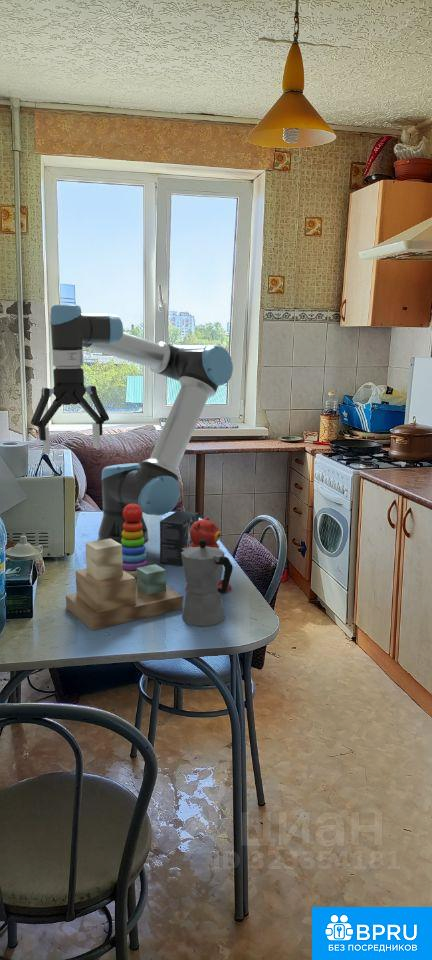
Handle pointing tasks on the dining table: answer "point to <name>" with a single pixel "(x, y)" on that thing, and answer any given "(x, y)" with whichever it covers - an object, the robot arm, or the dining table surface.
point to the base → (128, 611)
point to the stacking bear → (207, 532)
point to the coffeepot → (204, 584)
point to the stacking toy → (133, 540)
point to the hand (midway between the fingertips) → (72, 450)
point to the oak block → (104, 559)
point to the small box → (175, 536)
